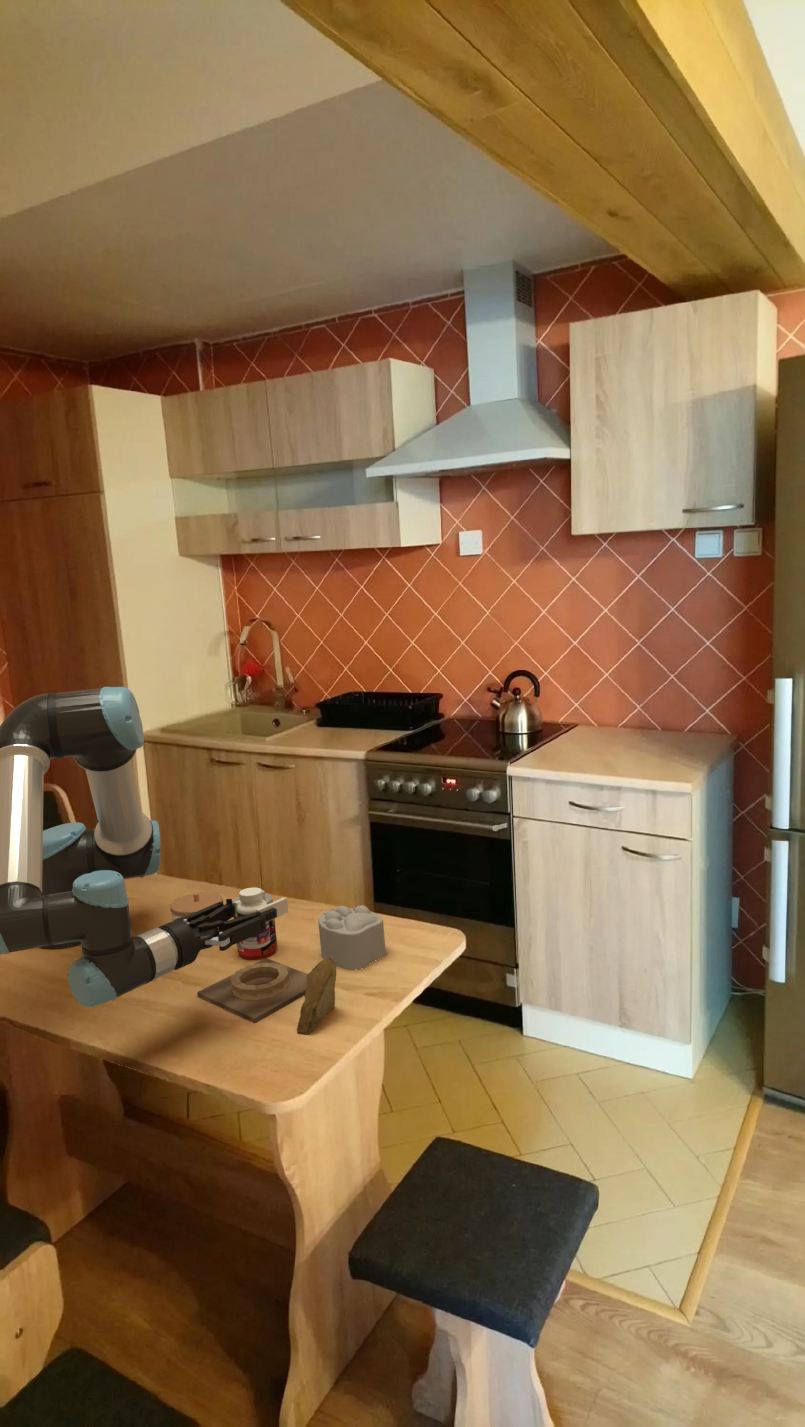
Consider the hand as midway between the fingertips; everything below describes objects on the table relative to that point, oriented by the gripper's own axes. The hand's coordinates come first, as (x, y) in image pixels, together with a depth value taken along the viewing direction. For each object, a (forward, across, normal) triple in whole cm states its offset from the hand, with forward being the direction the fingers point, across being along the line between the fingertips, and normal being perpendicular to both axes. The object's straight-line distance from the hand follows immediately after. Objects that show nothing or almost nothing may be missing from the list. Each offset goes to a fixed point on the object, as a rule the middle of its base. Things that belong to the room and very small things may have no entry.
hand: (275, 901), depth 160 cm
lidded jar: (+3, -29, -15) cm, 33 cm away
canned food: (+5, -13, -15) cm, 21 cm away
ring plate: (-5, 0, -15) cm, 16 cm away
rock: (-6, +15, -16) cm, 22 cm away
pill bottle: (-5, 0, -6) cm, 8 cm away
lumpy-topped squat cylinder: (+15, +3, -16) cm, 21 cm away
